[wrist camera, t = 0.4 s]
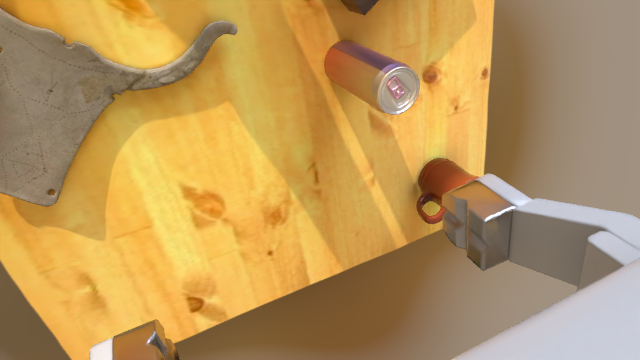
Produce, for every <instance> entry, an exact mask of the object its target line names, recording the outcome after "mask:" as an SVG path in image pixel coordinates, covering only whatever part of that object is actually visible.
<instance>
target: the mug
mask: <svg viewBox="0 0 640 360" xmlns="http://www.w3.org/2000/svg"><path fill="white" fill-rule="evenodd" d="M477 178H479V177H478V176H474V175H471V174H469V173H468V172H466V171H465V170H464V169H462V168H461V167H459V166H458V165H456V164H455V163H454V162H452V161H450V160H448V159H444V158H437V159H434V160H432V161H430V162H429V163H427V164H426V165H425V167H424V168H423V169H422V171H421V173H420V175H419V179H418V182H419V187H420V189H421V190H422V192H423V194H422V195H421V196H420V198H419V200H418V201H417V205H416V207H417V211H418V214H419V216H420V217H421V218H422V219H423V220H424V221H425V222H426V223H428V224H435V223H438V222H440V221H442V217H443V215H444V213H445V211H446V210H447V209H446V208H444V207H443V206H442V196H443V194H444V193H446V192H448V191H451V190H453V189H455V188H457V187H459V186H462V185H464V184H466V183H468V182H471V181H473V180H475V179H477ZM429 201H433V202H435V203H436V204H437V205H439V206H440V207H441V209H440V211H439V212H438V213H437V214H436V215H433V216H428V215H427V214H426V213H425V212H424V211H423V210H422V208H423V205H424V204H425V203H427V202H429Z"/></svg>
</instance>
